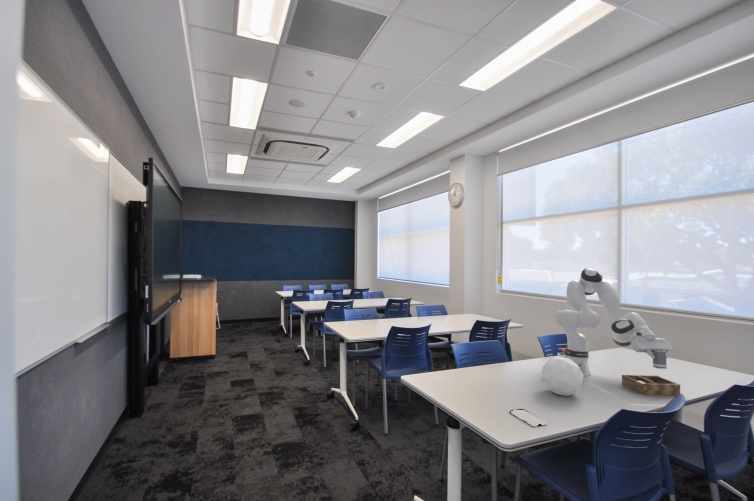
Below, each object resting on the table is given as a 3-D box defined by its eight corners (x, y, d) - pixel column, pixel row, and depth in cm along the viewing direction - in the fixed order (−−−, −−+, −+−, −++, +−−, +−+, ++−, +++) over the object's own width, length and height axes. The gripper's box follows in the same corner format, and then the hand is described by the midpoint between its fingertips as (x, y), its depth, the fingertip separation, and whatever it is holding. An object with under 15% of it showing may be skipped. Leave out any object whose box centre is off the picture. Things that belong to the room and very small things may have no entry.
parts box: (642, 395, 182) (642, 383, 183) (622, 385, 197) (621, 374, 198) (680, 396, 182) (680, 384, 183) (657, 386, 197) (657, 375, 198)
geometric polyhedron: (572, 410, 178) (591, 387, 167) (532, 391, 185) (547, 367, 173) (574, 383, 192) (591, 360, 181) (537, 365, 199) (551, 342, 187)
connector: (658, 368, 188) (657, 351, 189) (652, 366, 191) (652, 350, 192) (666, 368, 188) (665, 351, 189) (661, 366, 191) (660, 350, 192)
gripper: (660, 340, 202) (675, 361, 192) (625, 340, 202) (638, 361, 191) (666, 334, 198) (682, 355, 187) (630, 333, 198) (644, 354, 187)
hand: (660, 358), depth 189 cm, fingers closed on connector, 4 cm apart
